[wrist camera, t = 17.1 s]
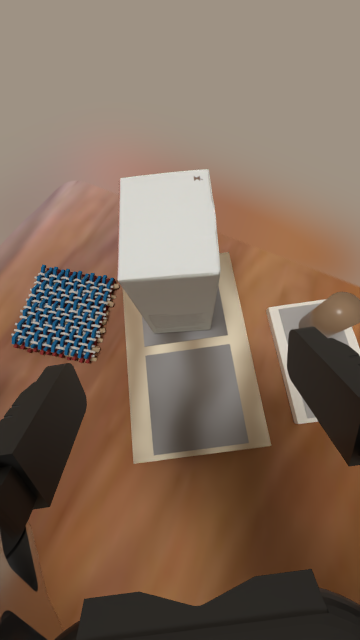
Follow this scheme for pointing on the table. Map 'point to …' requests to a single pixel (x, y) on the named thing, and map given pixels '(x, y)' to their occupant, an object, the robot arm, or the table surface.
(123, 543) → the table surface
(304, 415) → the plate
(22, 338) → the woven mat
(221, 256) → the board
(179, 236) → the small box
